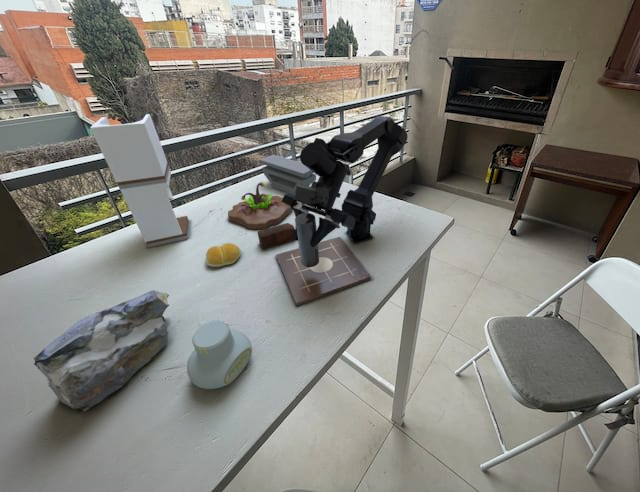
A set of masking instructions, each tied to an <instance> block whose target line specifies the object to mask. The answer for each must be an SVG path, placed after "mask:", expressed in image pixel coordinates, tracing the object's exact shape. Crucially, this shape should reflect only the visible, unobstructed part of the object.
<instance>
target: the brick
mask: <svg viewBox="0 0 640 492" xmlns="http://www.w3.org/2000/svg"><path fill="white" fill-rule="evenodd" d="M257 237H258V243H259V245H260V246H261V248H262V249H267V248H271V247H274V246H277V245H281V244H284V243H286V242H290V241H293V240H295V226H294V225H293V224H291V223H289V222H286V223H282V224H277V225H274V226H272V227H271V226H270V227H268V228H267V229H259V230H258V231H257Z"/></svg>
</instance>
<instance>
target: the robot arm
mask: <svg viewBox="0 0 640 492" xmlns="http://www.w3.org/2000/svg"><path fill="white" fill-rule="evenodd" d="M314 138H315V139H314V140H313V142H310V143H308V144H306V146H304V148H302V149H301V151H300V154H299V160H300V162H301V163H302V164H303V165H305V166H306V167H307V168H309V169H310V170H311V171H312V172H314V173H313V174H316V176H318V179H317V181H316V180H315V181H314V182H313V183H312V184H311V185H310V186H299V185H297V186H296V191H295V194H291V193H287V192H286V193H285V194H284V195H283V197H282V198H283V199H282V201H281V202H283V203H285V204H287V205H289V206H290V207H291V209H292V212H293V213H294V216H295V218H296V216H298V215H299V214H302V213H310V212H311V213H314V214H316V215H319V216H318V226H317V228H316V229H317V231H316V233H315V235H314V238H313V240H312V243H311V247H313V248H314V247H315V246H316V245H317V244H318V243H319V242H322V240H324V239H325V238H326V237H327V236H328V235H329V234H331V233H332V232H333V231H334V230H336V229H340V228H341V226H342V227H344V228H347V230H346V235H347V236H348V237H349V238H350V239H351V240H352V242H353V243H354V244H356V243H360V242H363V241H368V240H371V239H373V238H374V237H373V234H371V229H372V228H371V227H372V226H371V225H374V222H375V221H376V218H377V213H376V212H375V211H374V210H373V207H374V202H373V196H374V193H375V191H376V190H377V187H378V185H379V183H380V181H381V179H382V177H383V175H384V173H385V171H386V170H387V168H388V166H389V164H390V161H391V159H392V157H394V156H396V154H398V153H400V152H401V151H402V150H403V147H404V146H405V145H406V144H407V142H408V133H407V131H406V129H405V128H404V127H402V126H401V125H399V124H398V123H396V122H395V120H394V119H393V118H391V116H390V117H388V116H383V115H377V116H375V117H373V119H372V120H371V121H369V122H367V123H365V124H364V125H362V126H361V127H359V128H358V129H356V130H354V131H352V132H343V133H338V134H336V135H334V136H332V137H331V139H330V140H329V141H327V142H326V140H324V138H319V137H314ZM376 140H377V150H376V152H375V154H374V155H373V158H372V160H371V162H370V164H369V165H368V167H367V170H366V171H365V174H364V175H363V177H362V179H361V181H360V184H359V186H358V187H357V188H356V189H354V190H353V189H349V190H348V191H347V194H346V196H345V198H344V199H343V202H342V204H341V209H338V208H335V207H334V205H335V202H336V200H337V198H338V199H340V198H341V194H342V193H340V191H341V188H342V185H343V183H344V181H345V179H346V176H349V177H351V175H352V172H351V169H350V165H349V164H346V163H343V162H347V163H351V164H354V163H356V162H357V161H358V160H359V159H360V158H361V157H362V156H363V155H364V149H365V148H366V147H368V146H369V145H370V144H373V142H376ZM342 161H343V162H342ZM333 207H334V208H333ZM321 216H322V217H321ZM323 217H324V218H323ZM340 224H341V226H340ZM294 228H295V239H294V240H295V241H297V242H298V237H297V230H296V226H294Z"/></svg>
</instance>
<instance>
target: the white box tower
mask: <svg viewBox="0 0 640 492" xmlns="http://www.w3.org/2000/svg"><path fill="white" fill-rule="evenodd" d="M89 129H90V131H91V133H92V135H93V137H94V139H95V141H96V143H97V145H98V147H99V149H100V150H99V151H100V152H101V153H102V156H103V158H104V161H105V162H106V165H107V166H108V168H109V171H110V172H111V174H112V176H113V178H114V180H115V182H116V185H117V187H118V188H119V191H120V192H121V194H122V197H123V198H124V201H125V203H126V205H127V207H128V209H129V211H130V213H131V215H132V217H133V219H134V221H135V223H136V225H137V227H138V230H139V231H140V233H141V235H142V238H143V240H144V242H145V244H146V246H147V248H152V247H156V246H161V245H167V244H171V243H175V242H179V241H184V240H189V234H190V233H189V232H190V231H189V230H190V220H189V217H188V215H184V216H179V217H177V215H176V213H175V211H174V208H173V206H172V203H171V201H172V200H174V196H173V193H172V191H171V188H170V181H171V175H172V171H171V169H170V165H169V163H168V159H167V157H166V155H165V151H164V149H163V146H162V144H161V141H160V138H159V135H158V131H157V130H156V127H155V124H154V122H153V119H152V116H151V114H150V113H146V114H145V116H144V117H143V118H142V119H141V120H138V121H135V122H129V123H121V124H110V122H109V120H108V118H107V116H104V117H103V116H102V117H100V119H98V120H97V121H96V122H94V123H93V124H92V125H91V126H90V127H89Z"/></svg>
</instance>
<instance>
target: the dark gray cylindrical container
mask: <svg viewBox="0 0 640 492" xmlns="http://www.w3.org/2000/svg"><path fill="white" fill-rule="evenodd" d="M294 223H295V227H296V230H297V237H298V241H297V243H298V248H299V250H300V257H301V263H302V265H303V266H305V267H314V266H316V265H317V264H318V263H319V261H320V260H319V250H318V244H317V245H316V246H315V247H314V248H313V247H311V243H312V240H313V238H314V235H315V233H316V231H317V229H318V228H317V220H316V215H314V214H313V213H312V212H311V213H310V212H309V213H302V214H299V215H298V216H296V217H295V218H294Z"/></svg>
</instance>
